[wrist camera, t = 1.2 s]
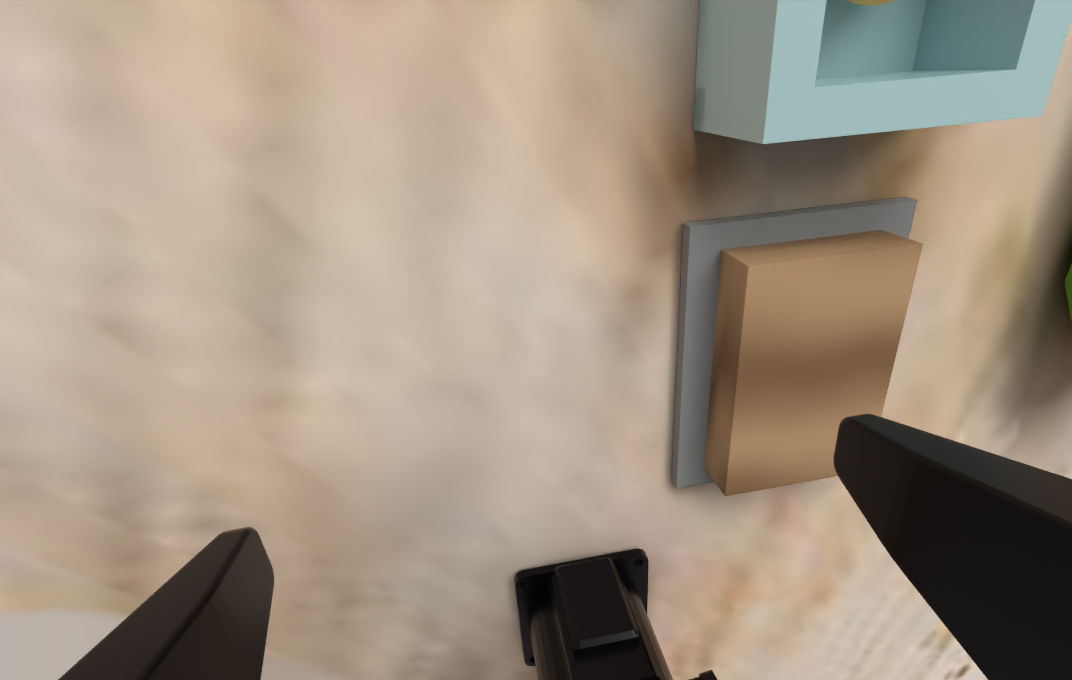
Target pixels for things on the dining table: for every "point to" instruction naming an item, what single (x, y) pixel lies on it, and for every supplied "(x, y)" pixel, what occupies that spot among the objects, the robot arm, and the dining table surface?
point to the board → (801, 352)
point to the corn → (1069, 289)
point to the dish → (871, 65)
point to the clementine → (870, 2)
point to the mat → (702, 292)
